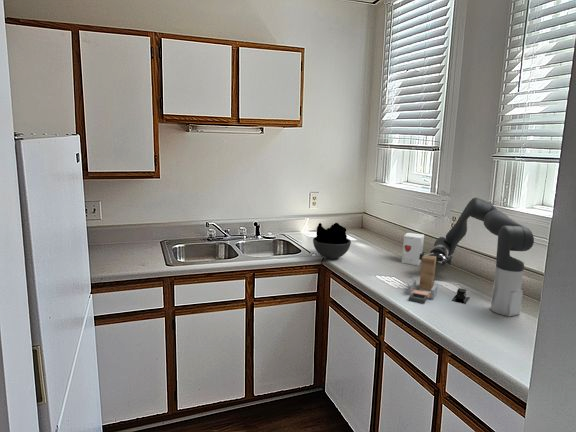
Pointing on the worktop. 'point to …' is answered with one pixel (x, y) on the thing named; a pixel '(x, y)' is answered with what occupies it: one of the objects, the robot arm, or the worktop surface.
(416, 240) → the supplement box
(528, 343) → the worktop surface
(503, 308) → the robot arm
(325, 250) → the heaped charcoal-grey bowl
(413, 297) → the trap pit
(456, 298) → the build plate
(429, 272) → the walnut block
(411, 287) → the grey cradle
